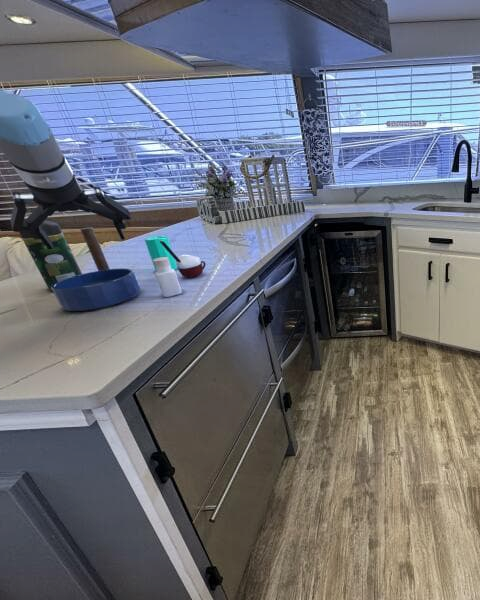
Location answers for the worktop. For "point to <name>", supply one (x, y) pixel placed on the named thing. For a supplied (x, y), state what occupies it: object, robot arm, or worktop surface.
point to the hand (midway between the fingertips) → (87, 239)
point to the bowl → (96, 289)
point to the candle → (160, 249)
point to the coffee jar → (52, 254)
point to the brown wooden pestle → (95, 248)
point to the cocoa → (187, 264)
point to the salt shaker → (166, 277)
